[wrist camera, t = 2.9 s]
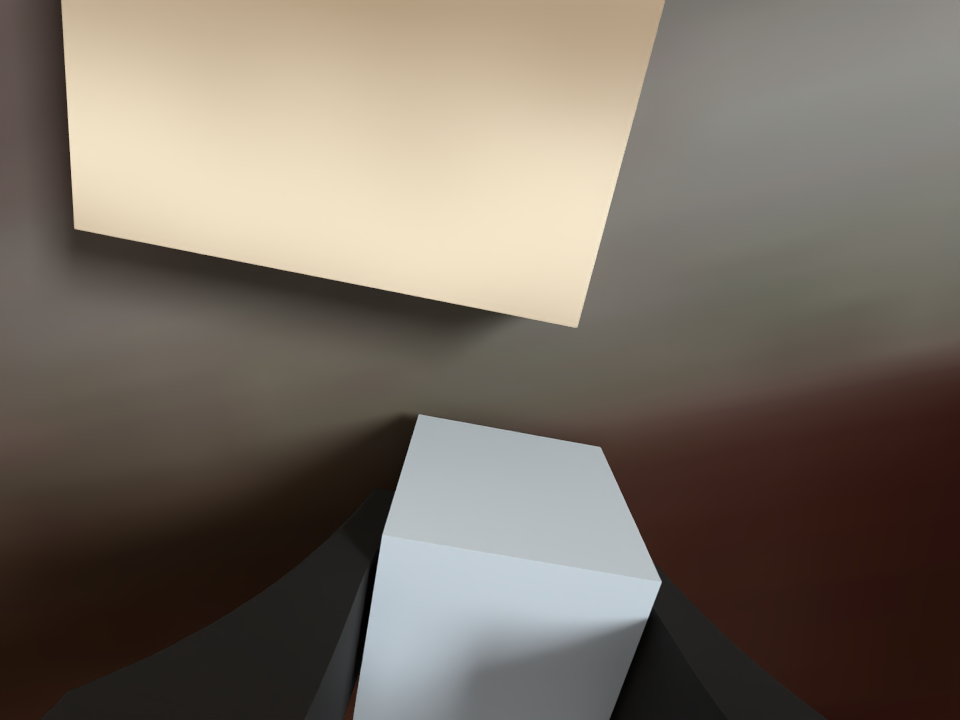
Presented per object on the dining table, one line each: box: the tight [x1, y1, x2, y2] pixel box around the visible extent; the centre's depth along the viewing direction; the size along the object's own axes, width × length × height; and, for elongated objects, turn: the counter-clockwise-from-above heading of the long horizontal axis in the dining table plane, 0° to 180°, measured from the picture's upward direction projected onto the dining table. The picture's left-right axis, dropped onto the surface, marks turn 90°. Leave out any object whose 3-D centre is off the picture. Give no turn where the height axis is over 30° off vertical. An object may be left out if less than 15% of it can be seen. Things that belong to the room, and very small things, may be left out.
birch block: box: [61, 0, 665, 328], centre depth 9 cm, size 9×9×3 cm
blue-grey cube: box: [353, 414, 662, 720], centre depth 11 cm, size 4×4×4 cm
